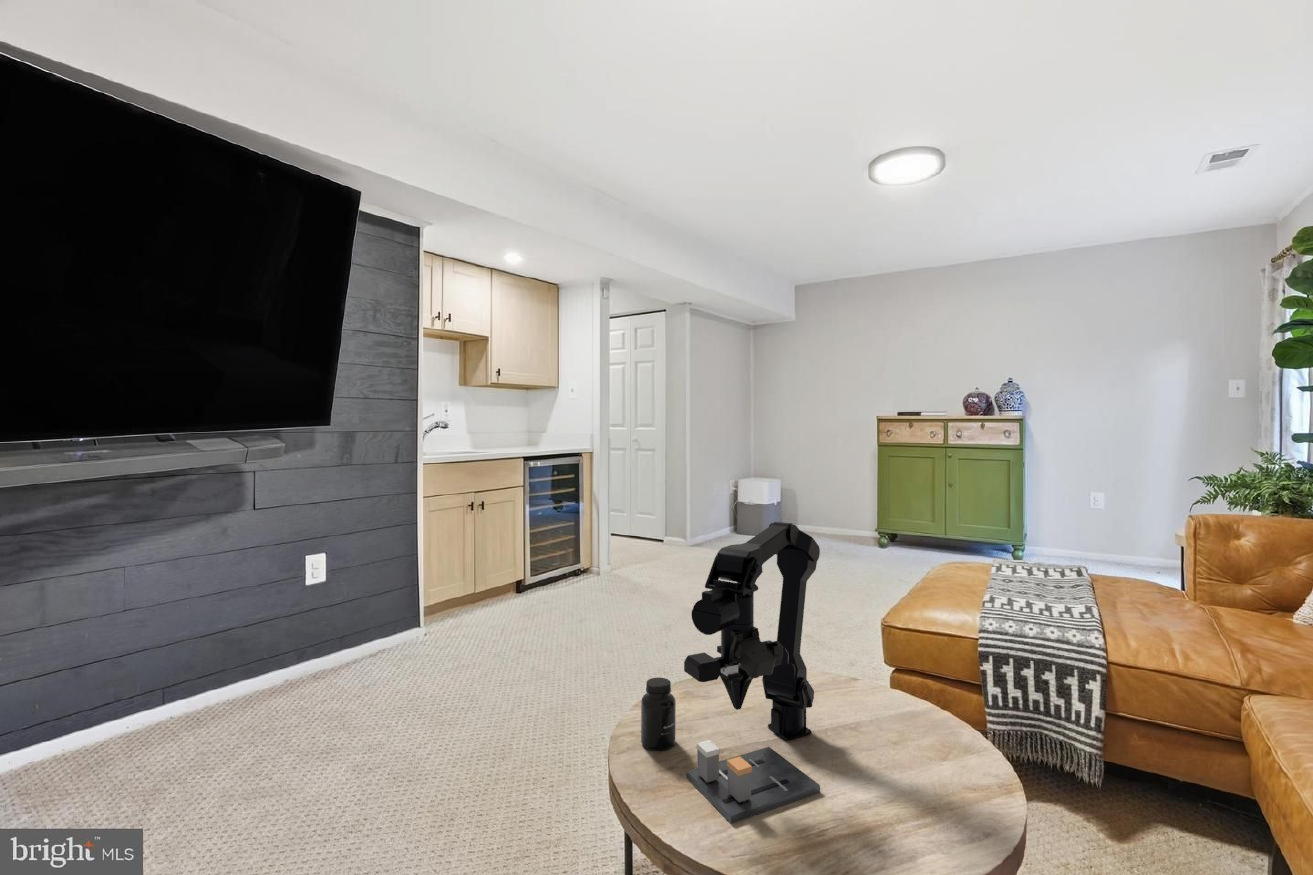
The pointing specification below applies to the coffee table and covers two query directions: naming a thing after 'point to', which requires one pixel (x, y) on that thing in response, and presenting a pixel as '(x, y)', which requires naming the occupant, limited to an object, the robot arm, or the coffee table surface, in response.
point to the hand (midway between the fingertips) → (737, 708)
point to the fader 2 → (739, 778)
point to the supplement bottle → (658, 715)
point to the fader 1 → (708, 760)
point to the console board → (757, 785)
